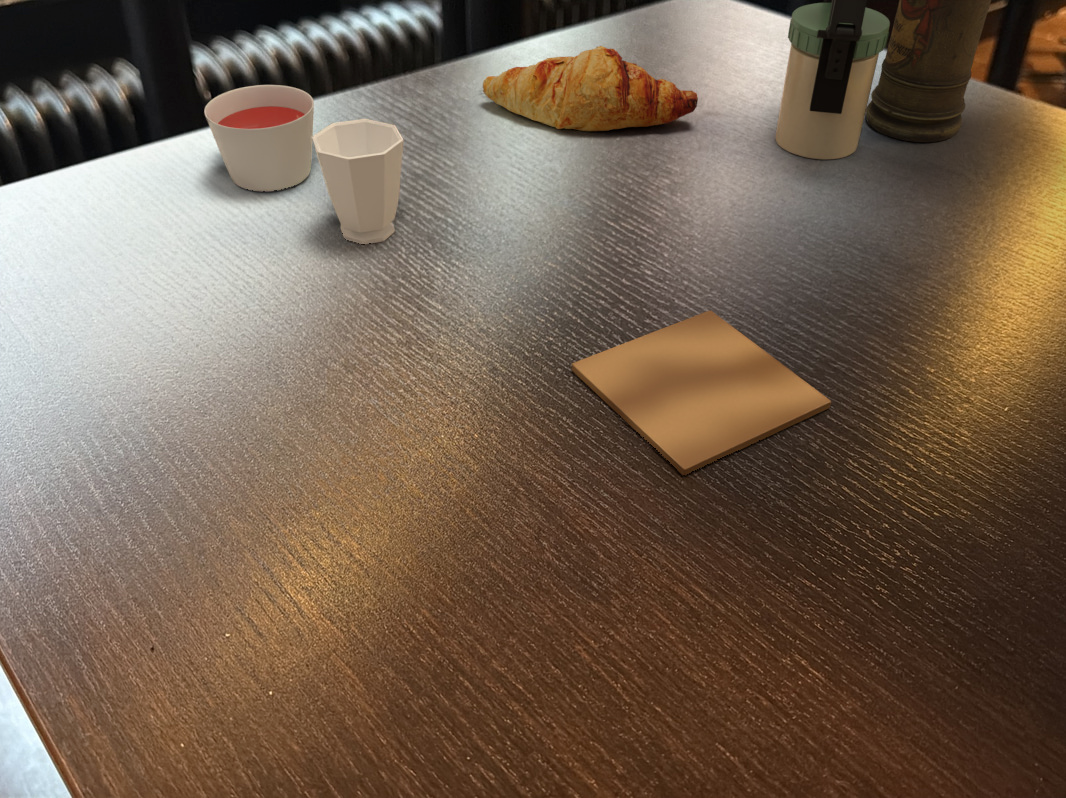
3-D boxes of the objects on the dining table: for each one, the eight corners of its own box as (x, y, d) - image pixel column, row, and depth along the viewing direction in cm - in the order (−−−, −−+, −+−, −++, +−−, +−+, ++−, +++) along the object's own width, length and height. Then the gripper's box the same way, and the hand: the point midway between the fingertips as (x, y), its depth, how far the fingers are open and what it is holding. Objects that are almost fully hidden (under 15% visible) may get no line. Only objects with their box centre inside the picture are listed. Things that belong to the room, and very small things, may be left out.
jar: (874, 147, 93) (902, 33, 86) (816, 167, 90) (840, 50, 83) (815, 117, 98) (837, 7, 91) (758, 135, 95) (776, 23, 88)
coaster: (830, 408, 64) (832, 401, 64) (683, 476, 59) (684, 469, 59) (709, 316, 72) (710, 309, 72) (571, 370, 67) (571, 363, 67)
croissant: (477, 148, 100) (463, 95, 93) (496, 68, 104) (485, 11, 96) (690, 166, 96) (693, 112, 89) (702, 83, 100) (706, 24, 93)
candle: (218, 204, 84) (202, 133, 80) (219, 156, 91) (205, 89, 87) (326, 193, 85) (316, 123, 81) (319, 147, 92) (310, 81, 88)
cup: (315, 251, 78) (300, 156, 73) (341, 190, 86) (329, 100, 81) (404, 255, 78) (396, 159, 73) (422, 193, 86) (415, 103, 80)
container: (940, 103, 101) (995, -89, 89) (974, 143, 94) (1037, -60, 82) (853, 104, 101) (896, -89, 89) (879, 144, 94) (930, -60, 82)
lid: (767, 35, 89) (771, 12, 88) (836, 18, 92) (841, -4, 91) (835, 66, 84) (840, 42, 82) (905, 47, 87) (911, 24, 86)
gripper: (946, -167, 68) (871, 145, 82) (923, -216, 84) (864, 52, 98) (833, -172, 69) (779, 135, 84) (832, -220, 85) (786, 45, 99)
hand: (825, 90), depth 91 cm, fingers closed on lid, 8 cm apart
